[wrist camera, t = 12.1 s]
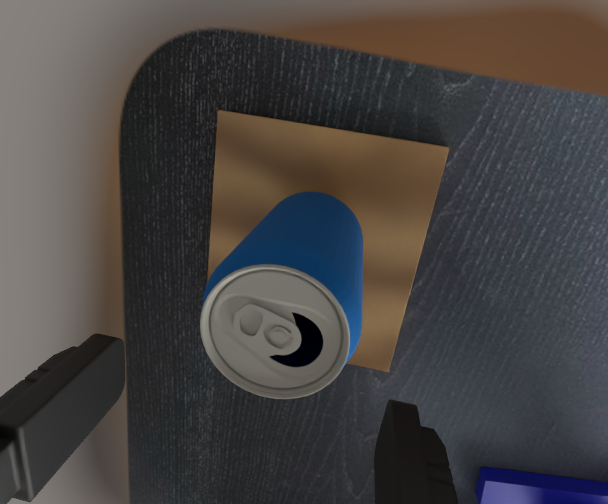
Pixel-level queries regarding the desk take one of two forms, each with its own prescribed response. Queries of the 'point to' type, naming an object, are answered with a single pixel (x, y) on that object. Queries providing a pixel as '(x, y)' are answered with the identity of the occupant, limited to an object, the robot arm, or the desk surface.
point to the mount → (536, 488)
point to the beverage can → (288, 299)
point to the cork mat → (342, 185)
